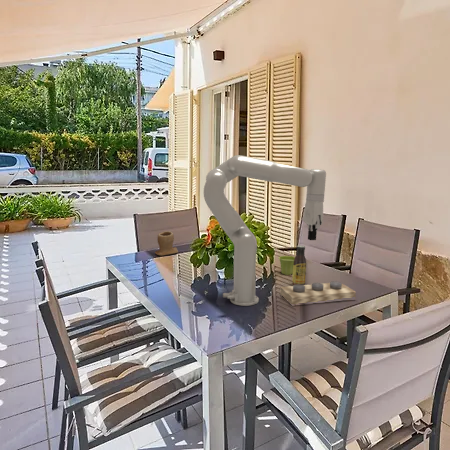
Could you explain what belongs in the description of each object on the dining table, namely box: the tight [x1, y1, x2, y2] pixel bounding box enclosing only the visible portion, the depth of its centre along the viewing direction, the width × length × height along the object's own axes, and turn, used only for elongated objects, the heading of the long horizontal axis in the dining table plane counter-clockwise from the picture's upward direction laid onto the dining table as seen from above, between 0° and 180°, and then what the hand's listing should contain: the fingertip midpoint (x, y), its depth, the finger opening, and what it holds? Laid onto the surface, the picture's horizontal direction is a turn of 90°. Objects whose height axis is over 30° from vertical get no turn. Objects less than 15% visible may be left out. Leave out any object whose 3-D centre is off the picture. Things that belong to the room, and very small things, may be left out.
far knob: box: [329, 280, 343, 289], centre depth 184 cm, size 5×5×6 cm
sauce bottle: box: [291, 245, 307, 286], centre depth 198 cm, size 6×6×20 cm
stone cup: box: [154, 230, 179, 257], centre depth 259 cm, size 15×12×15 cm
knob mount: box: [279, 282, 357, 304], centre depth 182 cm, size 30×14×4 cm, turn 103°
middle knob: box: [311, 282, 324, 291], centre depth 182 cm, size 5×5×6 cm
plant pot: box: [278, 255, 296, 276], centre depth 219 cm, size 9×9×9 cm
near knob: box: [292, 284, 305, 293], centre depth 180 cm, size 5×5×6 cm
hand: (311, 239), depth 177 cm, fingers closed
